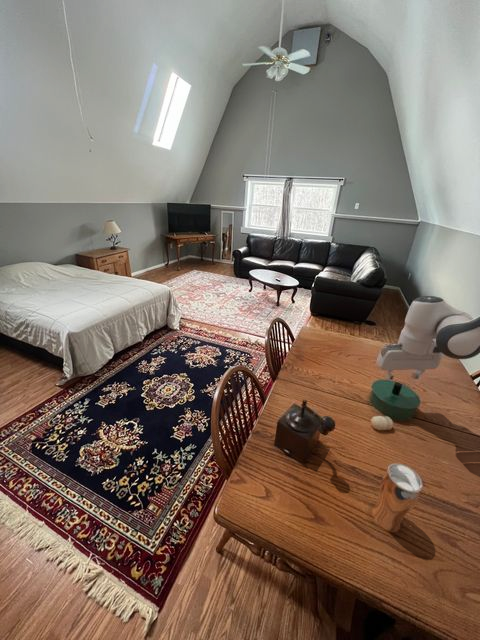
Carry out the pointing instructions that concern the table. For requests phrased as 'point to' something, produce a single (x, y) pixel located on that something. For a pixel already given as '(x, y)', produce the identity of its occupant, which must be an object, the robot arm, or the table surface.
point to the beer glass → (396, 496)
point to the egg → (382, 423)
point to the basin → (390, 409)
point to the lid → (396, 394)
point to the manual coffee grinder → (301, 431)
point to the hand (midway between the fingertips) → (401, 378)
